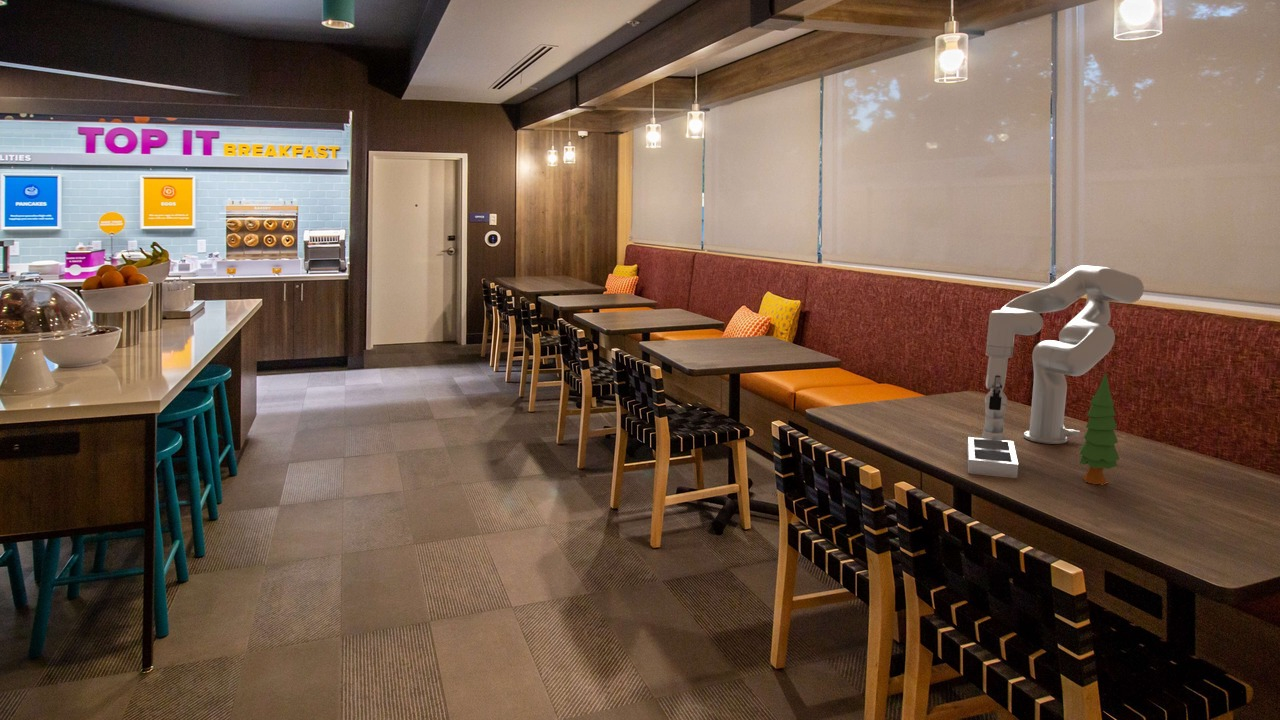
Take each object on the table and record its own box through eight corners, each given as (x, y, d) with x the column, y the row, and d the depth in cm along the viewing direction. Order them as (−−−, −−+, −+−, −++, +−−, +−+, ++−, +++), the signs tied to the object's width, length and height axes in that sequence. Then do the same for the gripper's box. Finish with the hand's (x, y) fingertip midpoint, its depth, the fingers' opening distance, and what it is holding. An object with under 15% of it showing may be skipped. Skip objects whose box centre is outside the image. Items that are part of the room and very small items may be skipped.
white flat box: (1012, 453, 250) (1013, 441, 249) (1017, 478, 228) (1018, 464, 227) (967, 449, 254) (968, 437, 254) (968, 473, 232) (969, 459, 232)
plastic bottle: (1002, 443, 260) (1007, 381, 257) (1004, 449, 254) (1009, 385, 250) (980, 442, 263) (985, 379, 259) (981, 447, 256) (986, 384, 253)
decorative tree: (1100, 475, 230) (1111, 369, 225) (1125, 486, 221) (1137, 376, 215) (1068, 477, 229) (1078, 370, 223) (1092, 489, 220) (1103, 377, 214)
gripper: (985, 346, 262) (980, 399, 265) (986, 354, 246) (981, 411, 249) (1011, 348, 259) (1005, 401, 262) (1014, 356, 243) (1008, 413, 247)
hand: (993, 406), depth 256 cm, fingers open, 9 cm apart
